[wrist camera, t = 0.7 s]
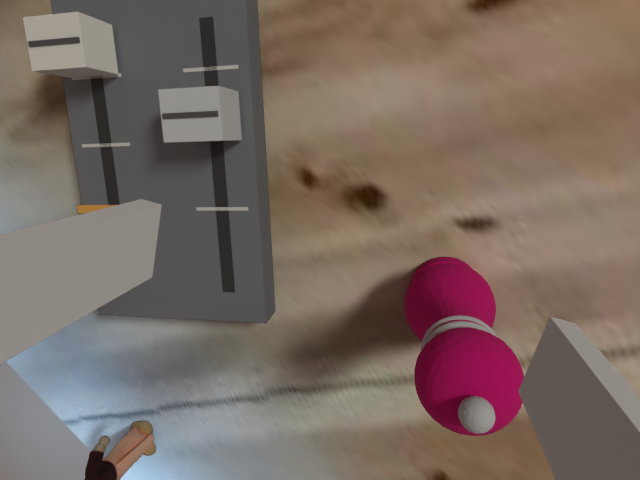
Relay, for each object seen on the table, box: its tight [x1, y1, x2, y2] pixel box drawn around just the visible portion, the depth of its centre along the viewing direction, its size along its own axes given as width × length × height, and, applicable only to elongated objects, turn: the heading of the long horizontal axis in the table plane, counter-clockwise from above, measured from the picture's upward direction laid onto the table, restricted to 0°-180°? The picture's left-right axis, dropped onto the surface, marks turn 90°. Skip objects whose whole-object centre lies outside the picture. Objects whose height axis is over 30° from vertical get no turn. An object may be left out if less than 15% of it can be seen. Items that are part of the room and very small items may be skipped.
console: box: [50, 0, 275, 323], centre depth 41 cm, size 30×18×3 cm, turn 2°
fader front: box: [158, 86, 242, 143], centre depth 35 cm, size 4×5×4 cm
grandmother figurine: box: [85, 421, 156, 480], centre depth 45 cm, size 8×4×13 cm, turn 13°
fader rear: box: [23, 12, 118, 78], centre depth 36 cm, size 4×5×4 cm
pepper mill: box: [404, 257, 524, 436], centre depth 30 cm, size 7×7×20 cm
